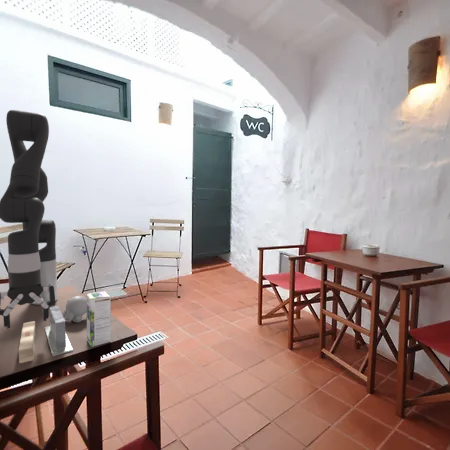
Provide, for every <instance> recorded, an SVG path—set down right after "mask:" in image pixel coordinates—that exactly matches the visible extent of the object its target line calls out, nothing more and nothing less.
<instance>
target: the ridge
mask: <svg viewBox="0 0 450 450" xmlns="http://www.w3.org/2000/svg"><path fill="white" fill-rule="evenodd" d="M62 313H63V312H62V311H61V309H60V307H59V305H52V306H50V307H49V325H48V326H45V327H44V331H45V334H46V338H47V342H48V345H49V348H50V351H51V356H52V357H56V356H59V355H62V354H67V353H71V352H73V351H74V348H73V346H72V345H71V342H70V341H71V340H70V339H69V337H68V334H67V332H66V320H65V318H64V317H63V315H62Z"/></svg>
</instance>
